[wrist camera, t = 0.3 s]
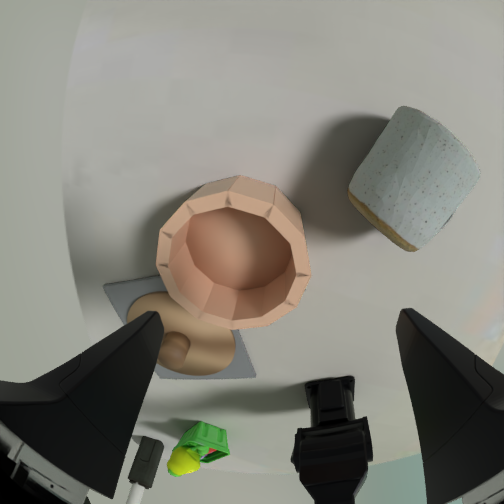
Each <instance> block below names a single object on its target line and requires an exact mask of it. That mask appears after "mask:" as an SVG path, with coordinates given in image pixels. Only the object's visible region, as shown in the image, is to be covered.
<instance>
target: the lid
mask: <svg viewBox="0 0 504 504" xmlns="http://www.w3.org/2000/svg"><path fill="white" fill-rule="evenodd" d="M146 311H157V312H159V314H160V317H161V320H162V323H163V326H164V336H163V339H162V343H161V347H160V351H159V355H158V359H157V364H159V365H160V366H162V367H164V368H166V369H169V370H171V371H174V372H177V373H180V374H185V375H192V376H205V375H211V374H215V373H217V372H220V371H222V370H223V369H225V368H226V367H227V366H228V365H229V364H230V363H231V361H232V359H233V357H234V354H235V347H236V343H235V338H234V335H233V332H232V330H231V329H227V328H224V327H221V326H217V325H214V324H211V323H207V322H204V321H201V320H198V319H197V318H195V317H194V316H193V315H192V314H190V313H189V312H188V311H187V310H186V309H184V308H183V307H182V306H181V305H180V304H178V303H177V302H176V301H175V300H174V299H172V298H171V296H170V295H169V293H168V291H157V292H151V293H148V294H145V295H143V296H141V297H140V298H138V299H137V300H136V301H135V302H134V304H133V305H132V306H131V308H130V310H129V312H128V316H127V324H128V323H129V322H131V321H132V320H134V319H135V318H137V317H139V316H140V315H142V314H143V313H145V312H146Z"/></svg>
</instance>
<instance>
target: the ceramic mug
mask: <svg viewBox="0 0 504 504" xmlns="http://www.w3.org/2000/svg"><path fill="white" fill-rule="evenodd" d="M480 174H481V173H480V169H479V166H478V164H477V162H476V160H475V159H474V157H473V155H472V154H471V152H470V151H469V150H468V149H467V147H466V146H465V145H464V144H463V143H462V142H461V141H460V140H459V139H458V138H457V137H456V136H455V134H453V133H452V132H451V131H450V130H449V129H448V128H447V127H446V126H444V125H443V124H442V123H440V122H439V121H438V120H436V119H434V118H432V117H430V116H429V115H428V114H426V113H424V112H422V111H420V110H417V109H414V108H412V107H407V106H401V107H399V108H398V109H397V110H396V112H395V113H394V115H393V116H392V118H391V120H390V121H389V123H388V124H387V126H386V127H385V129H384V130H383V132H382V133H381V135H380V136H379V138H378V139H377V141H376V142H375V144H374V146H373V147H372V149H371V150H370V152H369V154H368V155H367V156H366V158H365V159H364V160H363V162H362V163H361V165H360V166H359V167H358V169H357V170H356V172H355V173H354V176H353V178H352V180H351V182H350V184H349V187H348V190H347V191H348V197H349V200H350V201H351V203H352V204H353V205H354V206H355V208H356V209H357V210H358V211H359V212H360V213H361V214H362V215H363V216H364V217H365V218H366V219H367V220H368V221H369V222H370V223H371V224H372V225H373V226H375V227H376V228H377V229H378V230H379V231H380V232H381V233H383V234H384V235H385V236H386V237H387V238H388V239H390V240H391V241H392V242H393V243H395V244H396V245H397V246H399V247H400V248H402V249H403V250H405V251H408V252H415V251H417V250H419V249H420V248H422V247H423V246H424V245H425V244H427V243H428V242H429V241H430V240H431V239H432V238H433V237H434V236H435V235H436V234H437V233H438V232H440V231H441V230H442V229H443V228H444V227H445V226H446V225H447V223H448V222H449V221H450V220H451V218H452V217H453V215H454V213H455V211H456V209H457V208H458V207H459V205H460V204H461V203H462V202H463V200H464V199H465V198H466V196H467V195H468V194H469V193H470V191H471V190H472V189H473V187H474V186H475V184H476V183H477V182H478V180H479V178H480Z"/></svg>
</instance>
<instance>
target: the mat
mask: <svg viewBox="0 0 504 504" xmlns="http://www.w3.org/2000/svg"><path fill="white" fill-rule="evenodd" d="M103 289H104V291H105V293H106V294H107V296H108V298H109V300H110V302H111V303H112V305H113V307H114V309H115V310H116V312H117V314H118V316H119V317H120V319H121V321H122V322H123V324H124V325H126V324H127V316H128V312H129V310H130V308H131V306H132V305H133V304H134V302H135V301H136V300H137V299H138V298H140V297H141V296H143V295H145V294H148V293H151V292H157V291H167V289H166V286H165V284H164V282H163V280H162V278H161V276H154V277H148V278H142V279H135V280H129V281H123V282H117V283H111V284H105V285H104V286H103ZM232 332H233V335H234V338H235V343H236V347H235V354H234V357H233V359H232V361H231V363H230V364H229V365H228V366H227V367H226V368H225V369H223V370H222V371H220V372H217V373H215V374H211V375H205V376H192V375H185V374H180V373H177V372H174V371H171V370H169V369H166V368H164V367H162V366H160V365H159V364H157V363H156V366H155V369H154V371H155V372H156V373H157V375H158V376H159V378H161V379H239V378H256V373H255V371H254V368H253V366H252V363H251V361H250V358H249V356H248V353H247V351H246V348H245V346H244V343H243V341H242V338H241V335H240V333H239V330H238V329H236V330H232Z"/></svg>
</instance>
